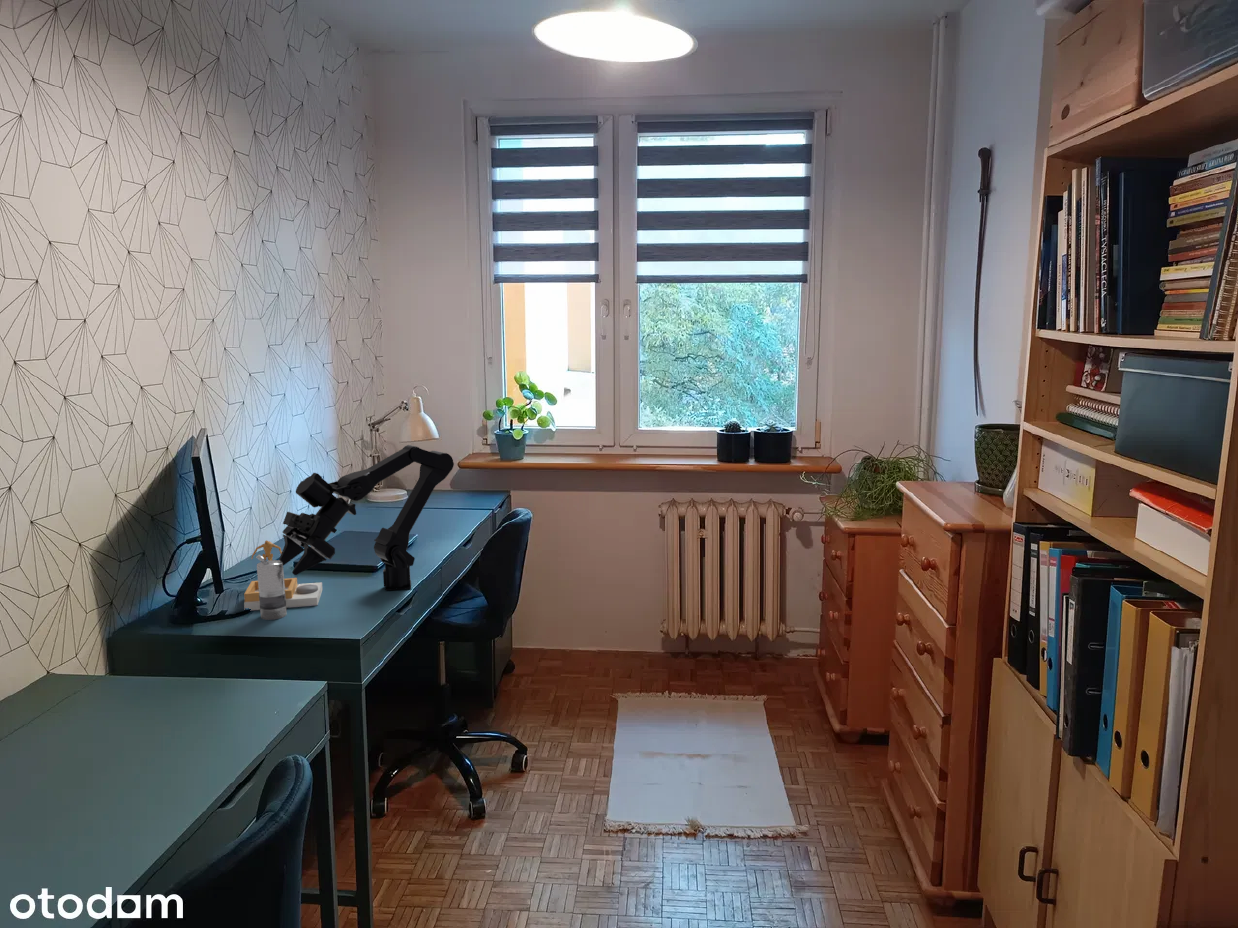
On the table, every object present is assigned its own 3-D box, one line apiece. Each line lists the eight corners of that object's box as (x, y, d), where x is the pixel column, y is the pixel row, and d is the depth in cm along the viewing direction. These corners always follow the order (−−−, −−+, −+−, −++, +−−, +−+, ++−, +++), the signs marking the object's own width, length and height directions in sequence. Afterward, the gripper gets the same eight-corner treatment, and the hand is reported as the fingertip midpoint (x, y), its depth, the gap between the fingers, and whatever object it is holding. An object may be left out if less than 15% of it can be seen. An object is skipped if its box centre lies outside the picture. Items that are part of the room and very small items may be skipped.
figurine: (249, 588, 235) (245, 544, 233) (256, 581, 241) (253, 538, 239) (281, 587, 236) (277, 543, 234) (288, 580, 242) (284, 537, 240)
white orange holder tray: (322, 589, 234) (321, 574, 233) (317, 605, 221) (316, 589, 221) (253, 594, 230) (252, 579, 229) (244, 610, 217) (243, 595, 217)
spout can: (288, 610, 217) (283, 549, 215) (285, 618, 212) (280, 555, 209) (262, 612, 216) (257, 551, 213) (258, 620, 210) (253, 557, 208)
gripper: (288, 493, 222) (246, 544, 217) (319, 505, 208) (275, 559, 203) (320, 519, 229) (280, 569, 223) (352, 532, 215) (311, 585, 209)
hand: (286, 570), depth 215 cm, fingers open, 9 cm apart
